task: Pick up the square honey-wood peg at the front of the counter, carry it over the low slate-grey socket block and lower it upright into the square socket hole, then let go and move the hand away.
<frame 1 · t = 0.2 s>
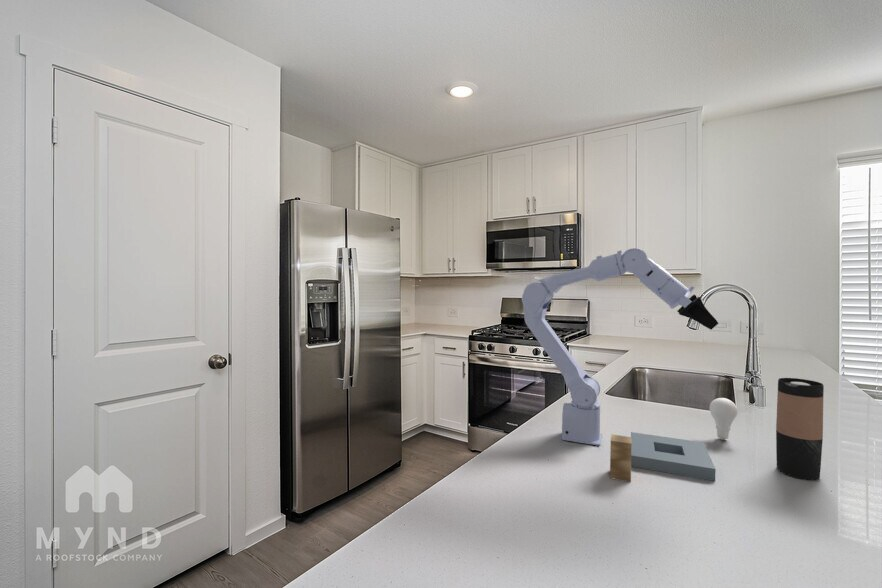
hand: (712, 324, 96), 32 cm above the counter, tool tilted 50°, fingers open, 7 cm apart
travel mug: (797, 473, 90), on the counter
lightbulb: (722, 440, 109), on the counter
socket block: (668, 459, 97), on the counter
peg: (620, 476, 88), on the counter
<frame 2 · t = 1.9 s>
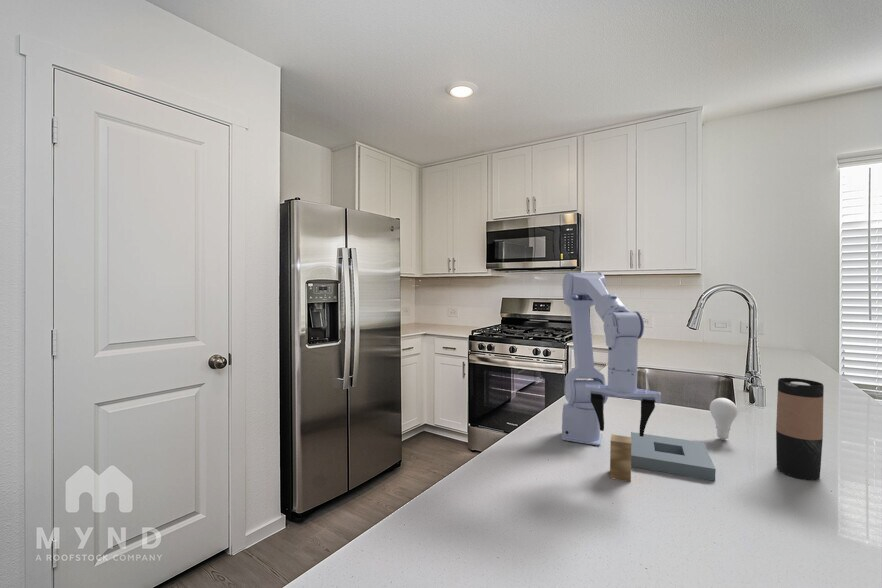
hand: (621, 432, 88), 9 cm above the counter, tool pointing down, fingers open, 7 cm apart
nothing on the counter moved.
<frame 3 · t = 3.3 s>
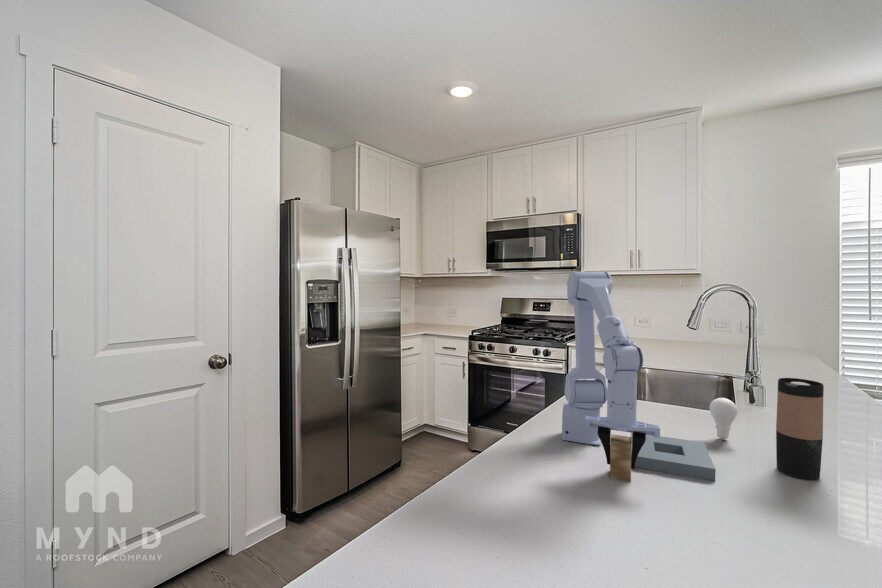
hand: (620, 464, 88), 2 cm above the counter, tool pointing down, fingers closed on peg, 4 cm apart
peg: (620, 475, 88), on the counter, touching gripper
everything else where it was.
when the fingers open (4 cm above the counter, at t = 10.3 s): peg drops 2 cm, resting in socket block.
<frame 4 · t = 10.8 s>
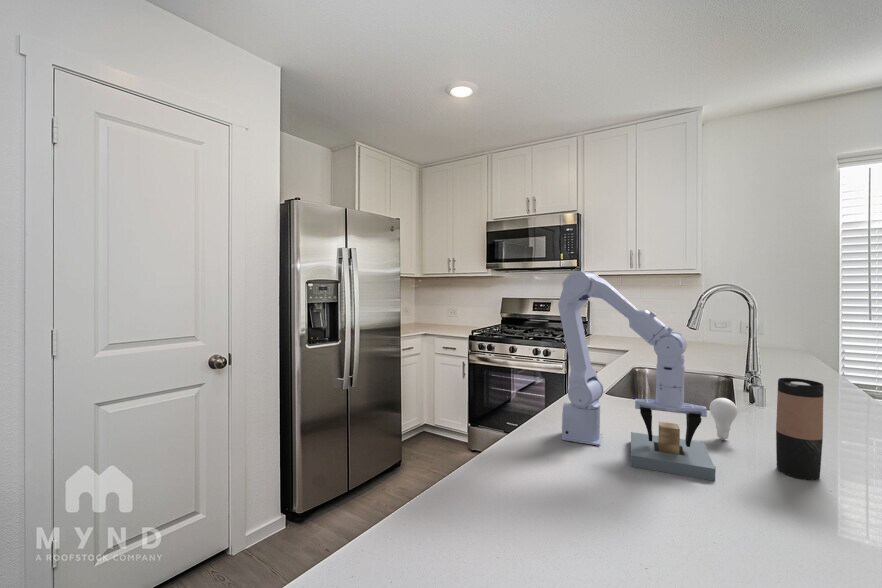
hand: (668, 442, 97), 4 cm above the counter, tool pointing down, fingers open, 7 cm apart
peg: (668, 459, 97), resting in socket block
everything else where it was.
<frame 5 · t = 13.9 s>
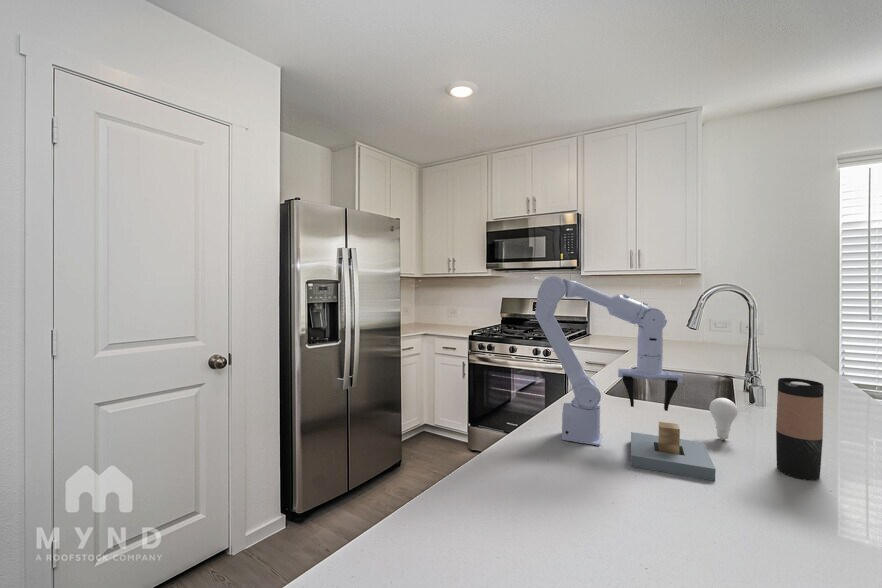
hand: (648, 407, 106), 9 cm above the counter, tool pointing down, fingers open, 7 cm apart
nothing on the counter moved.
at the end: peg 0.0 cm off-centre on the socket block, point 0.0 cm above the socket block's base; peg tilted 0°; the gripper is holding nothing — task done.
